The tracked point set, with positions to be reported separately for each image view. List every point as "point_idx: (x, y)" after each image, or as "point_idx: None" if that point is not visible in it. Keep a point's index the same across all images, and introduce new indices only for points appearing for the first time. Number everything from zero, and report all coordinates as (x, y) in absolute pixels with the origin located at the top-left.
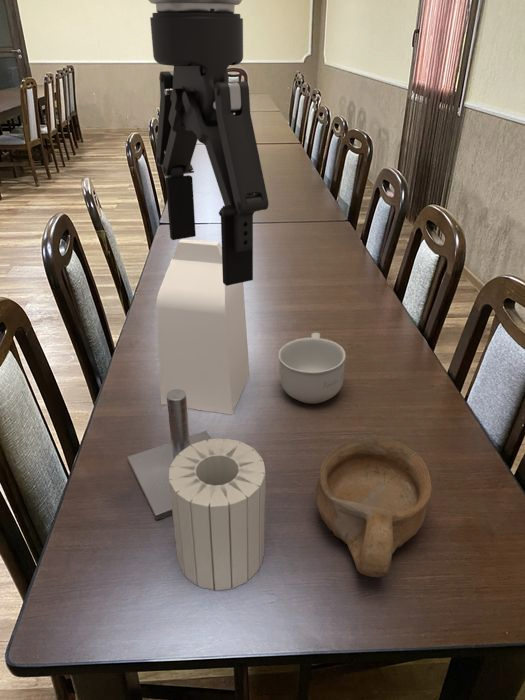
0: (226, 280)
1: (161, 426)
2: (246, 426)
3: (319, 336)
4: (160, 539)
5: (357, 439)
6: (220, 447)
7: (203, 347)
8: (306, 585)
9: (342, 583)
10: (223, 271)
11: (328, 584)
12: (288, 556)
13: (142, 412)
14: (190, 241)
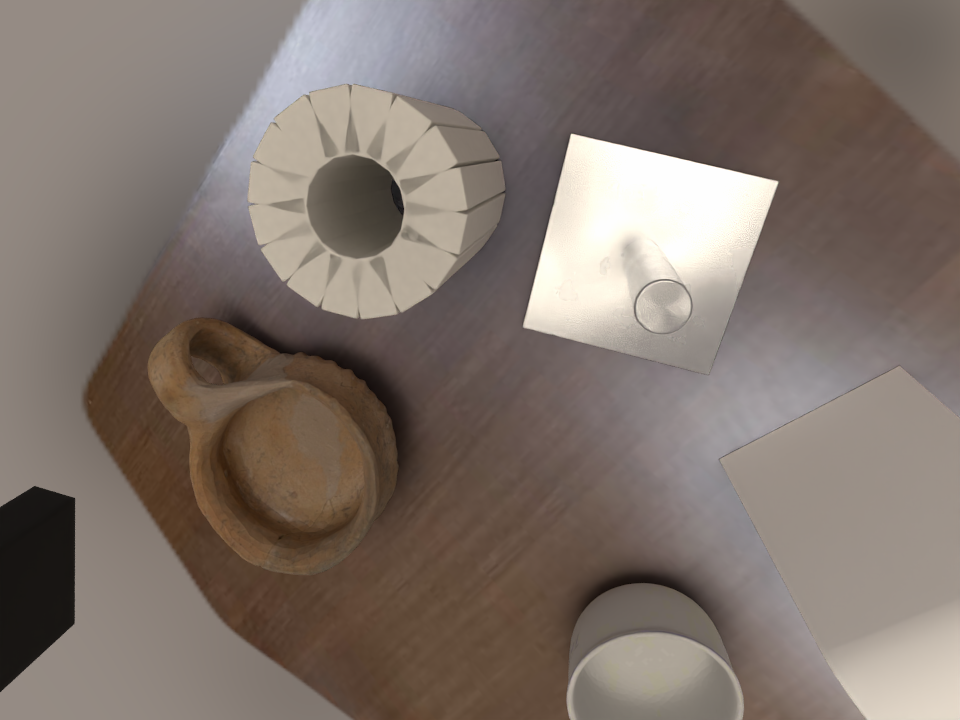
0: (8, 502)
1: (821, 314)
2: (662, 453)
3: None
4: (525, 113)
5: (361, 532)
6: (411, 262)
7: (850, 532)
8: None
9: (258, 301)
10: (7, 534)
11: (269, 283)
12: None
13: (912, 311)
14: None
